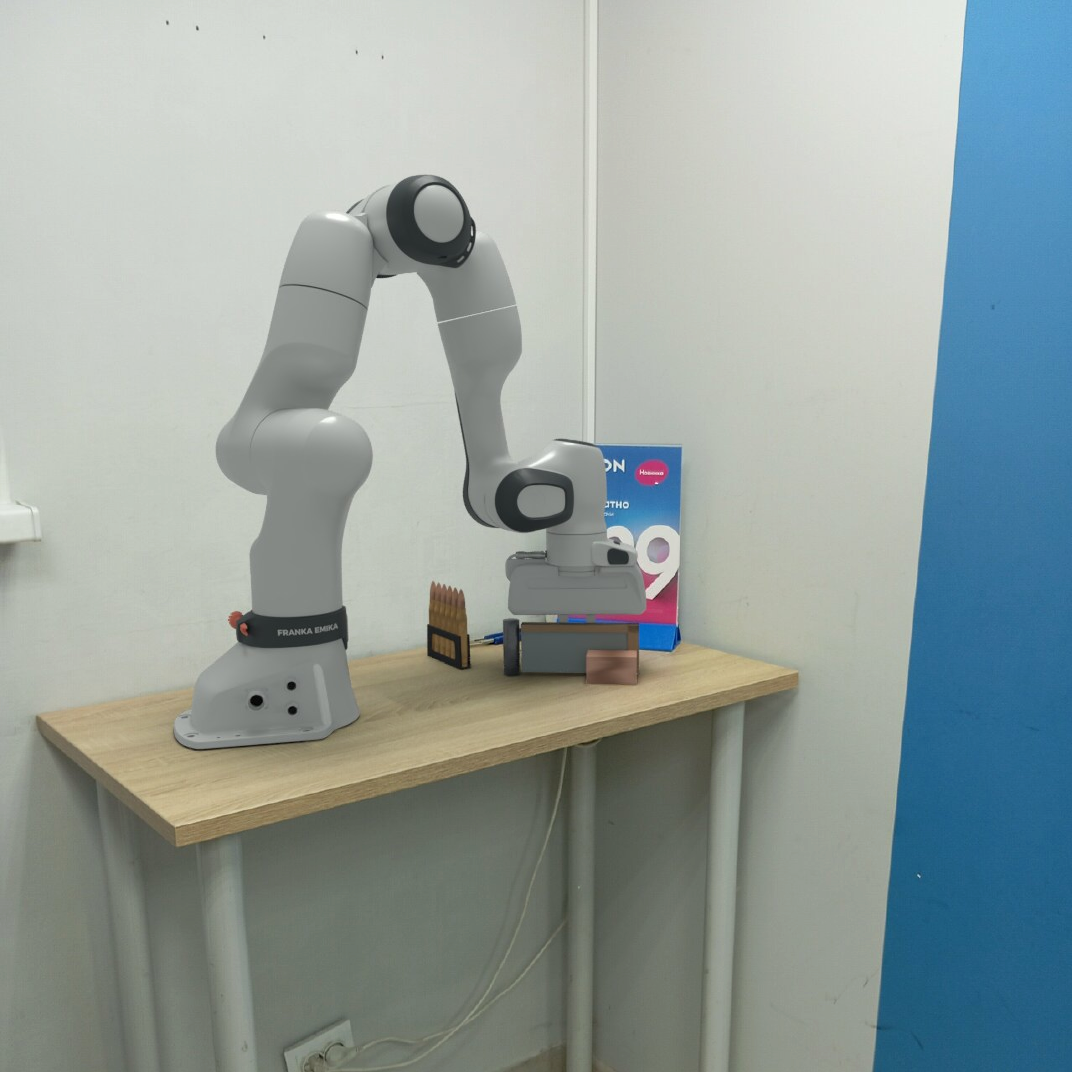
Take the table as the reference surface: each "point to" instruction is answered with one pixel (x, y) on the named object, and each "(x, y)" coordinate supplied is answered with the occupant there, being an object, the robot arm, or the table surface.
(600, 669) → the block
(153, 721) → the table surface
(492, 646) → the table surface
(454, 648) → the ammunition clip
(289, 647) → the robot arm
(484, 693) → the table surface
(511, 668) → the hinge post
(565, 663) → the gate
